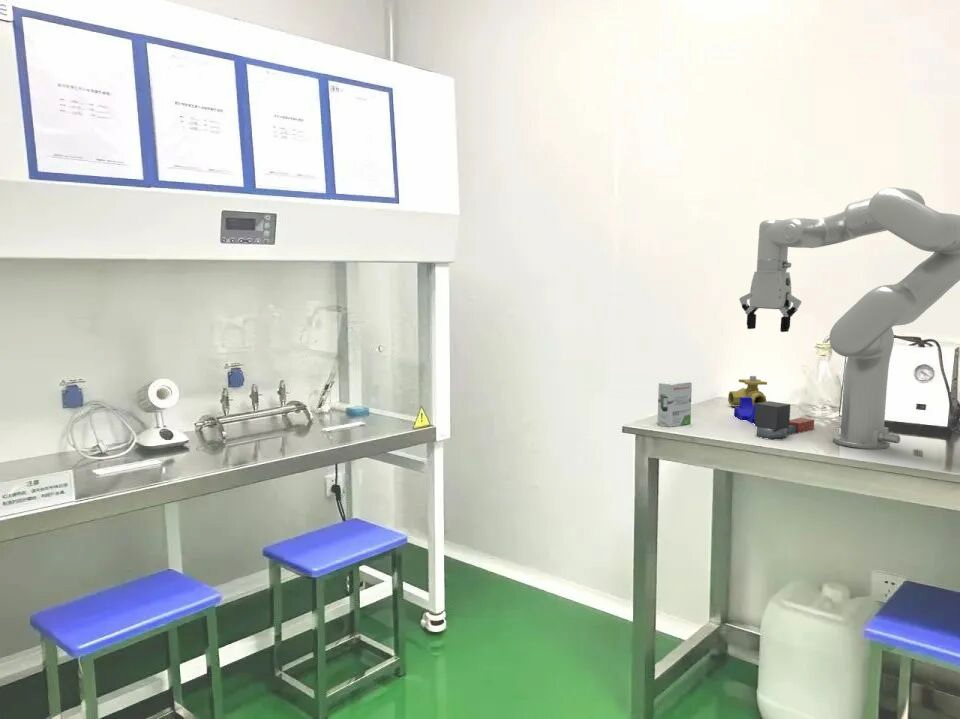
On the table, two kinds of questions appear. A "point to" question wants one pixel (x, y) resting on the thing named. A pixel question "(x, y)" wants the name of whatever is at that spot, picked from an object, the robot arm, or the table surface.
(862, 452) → the table surface
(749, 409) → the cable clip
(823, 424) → the table surface
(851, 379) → the robot arm
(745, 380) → the ball valve
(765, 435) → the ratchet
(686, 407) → the ink box
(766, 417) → the dark cube on disc
